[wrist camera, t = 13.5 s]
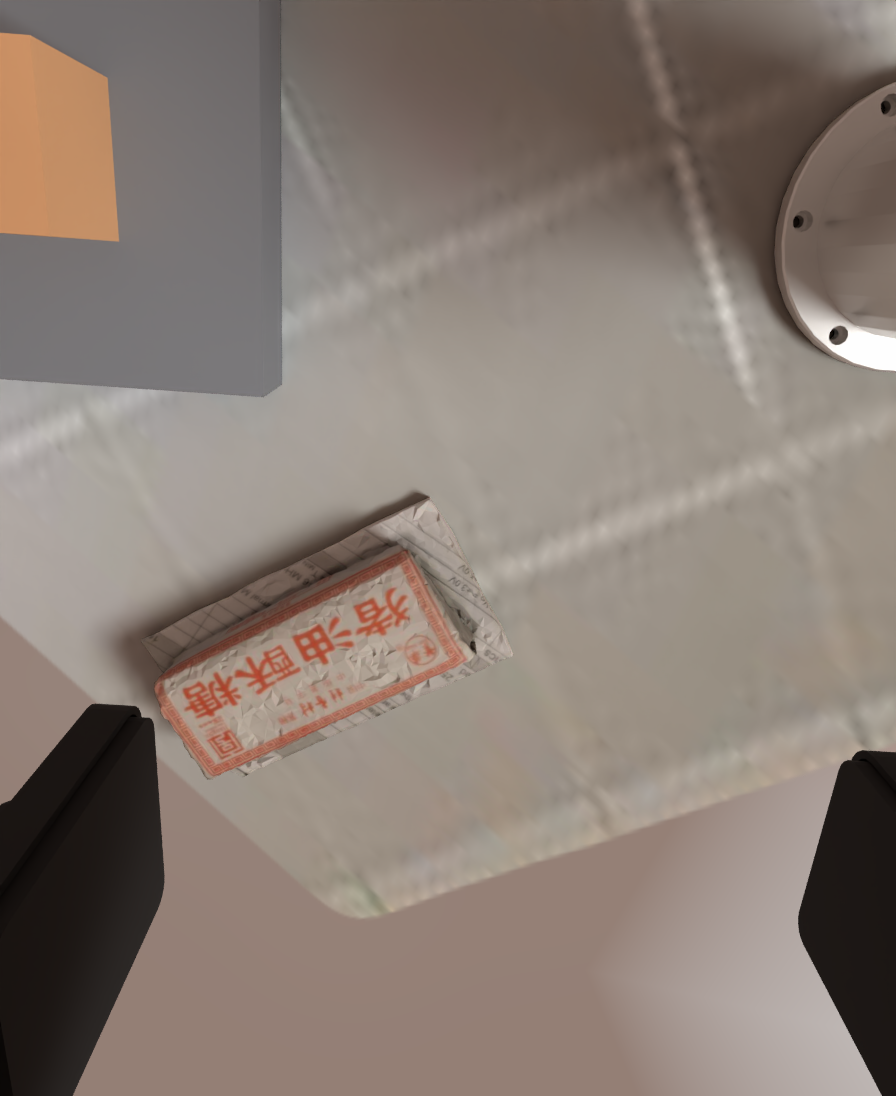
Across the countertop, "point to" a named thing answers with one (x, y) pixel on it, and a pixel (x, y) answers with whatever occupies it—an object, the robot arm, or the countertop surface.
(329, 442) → the countertop surface
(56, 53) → the cube
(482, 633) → the packaged product
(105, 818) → the robot arm
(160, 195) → the plinth
